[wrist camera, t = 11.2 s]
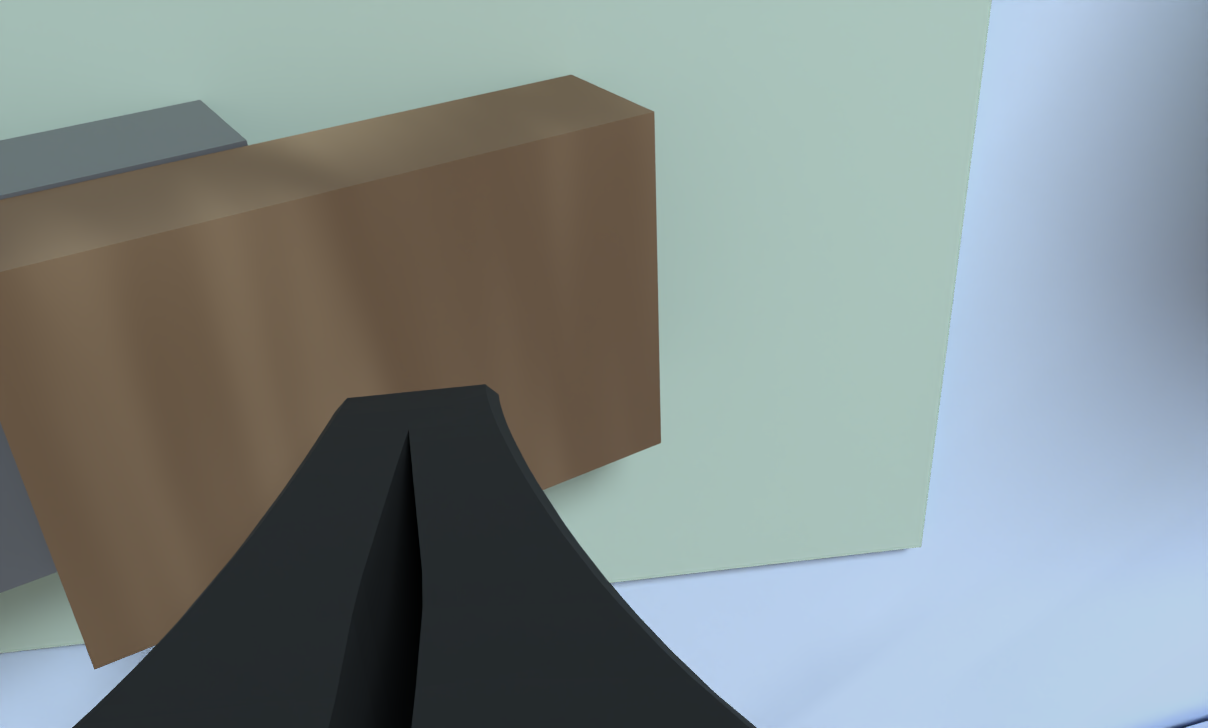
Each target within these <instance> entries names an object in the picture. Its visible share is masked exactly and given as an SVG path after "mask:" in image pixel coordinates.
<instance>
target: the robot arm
mask: <svg viewBox="0 0 1208 728" xmlns="http://www.w3.org/2000/svg"><path fill="white" fill-rule="evenodd" d="M72 728H756V727H755V726H754V725H753V724H752V723H750V722H749V721H748V720H747V719H746V718H744V717H743V716H742V715H741V714H740V713H738V712H737V711H736V710H735V709H734V708H732V707H731V706H730V705H729V704H728V703H726V702H725V701H724V700H723V699H722V698H720V697H719V696H718V695H717V694H716V693H715V692H714V691H713V690H712V689H710V688H709V687H708V686H707V685H706V684H705V683H704V682H703V681H702V680H701V679H700V678H699V677H698V676H697V675H696V674H695V673H694V672H693V671H692V670H691V669H690V668H689V667H688V666H687V665H686V664H685V663H683V662H682V661H681V660H680V659H679V658H678V657H677V656H676V655H675V654H674V653H673V652H672V651H671V650H670V649H669V648H668V647H667V646H666V645H665V644H664V643H663V642H662V640H661V639H660V638H659V637H658V636H657V635H656V634H655V633H654V632H653V631H652V630H651V629H650V628H649V627H648V626H647V625H646V624H645V623H644V622H643V620H642V619H641V618H640V617H639V616H638V615H637V614H636V613H635V612H634V611H633V609H632V608H631V607H630V606H629V605H628V604H627V603H626V601H625V600H624V599H623V598H622V597H621V596H620V595H619V593H618V592H617V591H616V590H615V589H614V587H613V586H612V585H611V584H610V583H609V581H608V580H607V579H606V578H605V576H604V575H603V574H602V573H601V571H600V570H599V569H598V568H597V566H596V565H595V564H594V562H593V561H592V560H591V559H590V557H589V556H588V555H587V553H586V552H585V551H584V550H583V548H582V547H581V546H580V544H579V543H578V542H577V540H576V539H575V537H574V536H573V535H572V533H571V532H570V530H569V529H568V528H567V526H566V525H565V524H564V522H563V521H562V519H561V518H560V516H559V514H558V513H557V511H556V510H555V508H554V507H553V505H552V504H551V502H550V501H549V499H548V498H547V496H546V494H545V493H544V491H543V490H542V488H541V487H540V485H539V484H538V482H537V481H536V479H535V477H534V475H533V474H532V472H531V470H530V469H529V467H528V465H527V463H526V462H525V460H524V458H523V456H522V454H521V452H520V450H519V448H518V446H517V444H516V442H515V440H514V438H513V436H512V434H511V432H510V429H509V427H508V425H507V422H506V420H505V417H504V414H503V411H502V408H501V405H500V400H499V394H498V393H496V392H495V391H494V390H492V389H491V388H490V387H488V386H487V385H486V384H482V385H472V386H462V387H452V388H442V389H432V390H422V391H412V392H402V393H392V394H382V395H372V396H362V397H352V398H347V399H346V400H345V401H344V402H343V403H342V404H341V405H340V407H339V408H338V409H337V410H336V411H335V413H334V414H333V416H332V417H331V419H330V421H329V422H328V424H327V425H326V427H325V428H324V430H323V431H322V433H321V434H320V436H319V437H318V439H317V441H316V442H315V444H314V445H313V447H312V448H311V450H310V451H309V453H308V454H307V456H306V457H305V459H304V460H303V462H302V463H301V464H300V466H299V467H298V469H297V470H296V472H295V473H294V475H293V476H292V477H291V479H290V480H289V482H288V483H287V485H286V486H285V488H284V489H283V490H282V492H281V493H280V494H279V496H278V497H277V498H276V500H275V501H274V502H273V504H272V505H271V507H270V508H269V509H268V511H267V512H266V513H265V515H264V516H263V517H262V519H261V520H260V521H259V523H258V524H257V525H256V527H255V528H254V529H253V531H252V532H251V533H250V535H249V536H248V537H247V539H246V540H245V541H244V543H243V544H242V545H241V547H240V548H239V549H238V550H237V552H236V553H235V554H234V555H233V557H232V558H231V559H230V560H229V562H228V563H227V564H226V565H225V566H224V567H223V569H222V570H221V571H220V572H219V573H218V575H217V576H216V577H215V578H214V579H213V581H212V582H211V583H210V584H209V585H208V586H207V588H206V589H205V590H204V591H203V592H202V594H201V595H200V596H199V597H198V598H197V600H196V601H195V602H194V603H193V604H192V605H191V607H190V608H189V609H188V610H187V611H186V613H185V614H184V615H183V616H182V617H181V619H180V620H179V621H178V622H177V623H176V624H175V625H174V626H173V627H172V629H171V630H170V631H169V632H168V633H167V634H166V635H165V636H164V637H163V638H162V639H161V640H160V642H159V643H158V644H157V645H156V646H155V647H154V648H153V649H152V650H151V651H150V652H149V653H148V654H147V656H146V657H145V658H144V659H143V660H142V661H141V662H140V663H139V664H138V665H137V666H136V667H135V668H134V669H133V670H132V671H131V672H130V673H129V674H128V675H127V676H126V677H125V678H124V679H123V680H122V681H121V682H120V683H119V684H118V685H117V686H116V687H115V688H114V689H113V690H112V691H111V692H110V693H109V694H108V695H107V696H106V697H105V698H104V699H103V700H102V701H100V702H99V703H98V704H97V705H96V706H95V707H94V708H93V709H92V710H91V711H90V712H89V713H88V714H87V715H86V716H85V717H83V718H82V719H81V720H80V721H79V722H78V723H77V724H76V725H75V726H74V727H72ZM1185 728H1208V721H1204V722H1201V723H1198V724H1195V725H1191V726H1188V727H1185Z"/></svg>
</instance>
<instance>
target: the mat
mask: <svg viewBox="0 0 1208 728" xmlns="http://www.w3.org/2000/svg"><path fill="white" fill-rule="evenodd" d="M991 2H992V0H0V140H5V139H10V138H15V137H20V136H25V135H29V134H34V133H39V132H44V131H49V130H54V129H59V128H64V127H69V126H74V125H78V124H83V123H88V122H93V121H98V120H103V119H108V118H113V117H118V116H123V115H128V114H132V113H137V112H142V111H147V110H152V109H157V108H162V107H167V106H172V105H177V104H181V103H186V102H191V101H196V100H201V101H202V102H203V103H204V104H206V105H207V106H208V107H209V108H210V109H211V110H212V111H214V112H215V113H216V114H217V115H218V116H219V117H221V118H222V119H223V120H224V121H225V122H226V123H227V124H229V125H230V126H231V127H232V128H233V129H234V130H235V131H237V132H238V133H239V134H240V135H241V136H242V137H243V138H245V139H246V140H247V144H248V145H252V144H257V143H261V142H266V141H271V140H275V139H280V138H284V137H289V136H293V135H298V134H303V133H307V132H312V131H316V130H321V129H325V128H330V127H334V126H339V125H344V124H348V123H353V122H357V121H362V120H366V119H371V118H375V117H380V116H385V115H389V114H394V113H398V112H403V111H407V110H412V109H417V108H421V107H426V106H430V105H435V104H439V103H444V102H448V101H453V100H458V99H462V98H467V97H471V96H476V95H480V94H485V93H489V92H494V91H499V90H503V89H508V88H512V87H517V86H521V85H526V84H531V83H535V82H540V81H544V80H549V79H553V78H558V77H562V76H567V75H574V76H576V77H578V78H580V79H582V80H585V81H587V82H589V83H591V84H594V85H596V86H598V87H600V88H603V89H605V90H607V91H609V92H612V93H614V94H616V95H618V96H620V97H623V98H625V99H627V100H629V101H632V102H634V103H636V104H638V105H641V106H643V107H645V108H647V109H650V110H652V111H654V115H655V164H656V214H657V263H658V313H659V362H660V412H661V443H660V444H657V445H655V446H652V447H650V448H647V449H645V450H642V451H640V452H637V453H635V454H632V455H630V456H627V457H625V458H622V459H620V460H617V461H615V462H612V463H610V464H607V465H605V466H602V467H600V468H597V469H595V470H592V471H590V472H587V473H585V474H582V475H580V476H577V477H575V478H572V479H570V480H567V481H565V482H562V483H560V484H557V485H555V486H552V487H550V488H547V489H545V490H543V491H544V493H545V494H546V496H547V498H548V499H549V501H550V502H551V504H552V505H553V507H554V508H555V510H556V511H557V513H558V514H559V516H560V518H561V519H562V521H563V522H564V524H565V525H566V526H567V528H568V529H569V530H570V532H571V533H572V535H573V536H574V537H575V539H576V540H577V542H578V543H579V544H580V546H581V547H582V548H583V550H584V551H585V552H586V553H587V555H588V556H589V557H590V559H591V560H592V561H593V562H594V564H595V565H596V566H597V568H598V569H599V570H600V571H601V573H602V574H603V575H604V576H605V578H606V579H607V580H608V581H609V583H613V582H622V581H631V580H639V579H648V578H657V577H665V576H674V575H682V574H691V573H700V572H708V571H717V570H726V569H734V568H743V567H752V566H760V565H769V564H778V563H786V562H795V561H804V560H812V559H821V558H830V557H838V556H847V555H856V554H864V553H873V552H882V551H890V550H899V549H908V548H916V547H921V545H922V537H923V529H924V521H925V514H926V506H927V498H928V490H929V482H930V475H931V467H932V459H933V451H934V444H935V436H936V428H937V420H938V413H939V405H940V397H941V389H942V382H943V374H944V366H945V358H946V351H947V343H948V335H949V327H950V320H951V312H952V304H953V296H954V289H955V281H956V273H957V265H958V258H959V250H960V242H961V234H962V227H963V219H964V211H965V203H966V196H967V188H968V180H969V172H970V165H971V157H972V149H973V141H974V133H975V126H976V118H977V110H978V102H979V95H980V87H981V79H982V71H983V64H984V56H985V48H986V40H987V33H988V25H989V17H990V9H991ZM77 644H85V643H84V640H83V638H82V635H81V632H80V630H79V627H78V625H77V622H76V619H75V617H74V614H73V611H72V609H71V606H70V604H69V601H68V598H67V596H66V593H65V590H64V588H63V585H62V583H61V580H60V577H59V575H58V572H56V573H53V574H51V575H48V576H45V577H42V578H40V579H37V580H34V581H32V582H29V583H26V584H23V585H21V586H18V587H15V588H13V589H10V590H7V591H4V592H2V593H0V653H7V652H16V651H25V650H33V649H42V648H51V647H59V646H68V645H77Z"/></svg>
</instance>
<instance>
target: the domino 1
mask: <svg viewBox="0 0 1208 728" xmlns="http://www.w3.org/2000/svg"><path fill="white" fill-rule="evenodd" d="M243 146H248V144H247V140H246V139H245V138H243V137H242V136H241V135H240V134H239V133H238V132H237V131H235V130H234V129H233V128H232V127H231V126H230V125H229V124H227V123H226V122H225V121H224V120H223V119H222V118H221V117H219V116H218V115H217V114H216V113H215V112H214V111H212V110H211V109H210V108H209V107H208V106H207V105H206V104H204V103H203V102H202V101H201V100H196V101H191V102H186V103H181V104H177V105H172V106H167V107H162V108H157V109H152V110H147V111H142V112H137V113H132V114H128V115H123V116H118V117H113V118H108V119H103V120H98V121H93V122H88V123H83V124H78V125H74V126H69V127H64V128H59V129H54V130H49V131H44V132H39V133H34V134H29V135H25V136H20V137H15V138H10V139H5V140H0V200H2V199H6V198H11V197H15V196H20V195H24V194H29V193H33V192H38V191H43V190H47V189H52V188H56V187H61V186H65V185H70V184H75V183H79V182H84V181H88V180H93V179H97V178H102V177H106V176H111V175H116V174H120V173H125V172H129V171H134V170H138V169H143V168H147V167H152V166H157V165H161V164H166V163H170V162H175V161H179V160H184V159H189V158H193V157H198V156H202V155H207V154H211V153H216V152H220V151H225V150H230V149H234V148H239V147H243ZM56 572H57V569H56V567H55V564H54V562H53V559H52V556H51V554H50V551H49V548H48V546H47V543H46V541H45V538H44V535H43V533H42V530H41V528H40V525H39V522H38V520H37V517H36V514H35V512H34V509H33V507H32V504H31V501H30V499H29V496H28V493H27V491H26V488H25V486H24V483H23V480H22V478H21V475H20V472H19V470H18V467H17V465H16V462H15V459H14V457H13V454H12V451H11V449H10V446H9V444H8V441H7V438H6V436H5V433H4V430H3V428H2V425H1V423H0V593H2V592H4V591H7V590H10V589H13V588H15V587H18V586H21V585H23V584H26V583H29V582H32V581H34V580H37V579H40V578H42V577H45V576H48V575H51V574H53V573H56Z"/></svg>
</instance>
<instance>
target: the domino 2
mask: <svg viewBox="0 0 1208 728" xmlns="http://www.w3.org/2000/svg"><path fill="white" fill-rule="evenodd" d="M482 384H486V385H487V386H488V387H490V388H491V389H492V390H494V391H495V392H496V393H498V394H499V400H500V405H501V408H502V411H503V414H504V417H505V420H506V422H507V425H508V427H509V429H510V432H511V434H512V436H513V438H514V440H515V442H516V444H517V446H518V448H519V450H520V452H521V454H522V456H523V458H524V460H525V462H526V463H527V465H528V467H529V469H530V470H531V472H532V474H533V475H534V477H535V479H536V481H537V482H538V484H539V485H540V487H541V488H542V490H545V489H547V488H550V487H552V486H555V485H557V484H560V483H562V482H565V481H567V480H570V479H572V478H575V477H577V476H580V475H582V474H585V473H587V472H590V471H592V470H595V469H597V468H600V467H602V466H605V465H607V464H610V463H612V462H615V461H617V460H620V459H622V458H625V457H627V456H630V455H632V454H635V453H637V452H640V451H642V450H645V449H647V448H650V447H652V446H655V445H657V444H660V443H661V412H660V362H659V313H658V263H657V214H656V164H655V115H654V111H652V110H650V109H647V108H645V107H643V106H641V105H638V104H636V103H634V102H632V101H629V100H627V99H625V98H623V97H620V96H618V95H616V94H614V93H612V92H609V91H607V90H605V89H603V88H600V87H598V86H596V85H594V84H591V83H589V82H587V81H585V80H582V79H580V78H578V77H576V76H574V75H567V76H562V77H558V78H553V79H549V80H544V81H540V82H535V83H531V84H526V85H521V86H517V87H512V88H508V89H503V90H499V91H494V92H489V93H485V94H480V95H476V96H471V97H467V98H462V99H458V100H453V101H448V102H444V103H439V104H435V105H430V106H426V107H421V108H417V109H412V110H407V111H403V112H398V113H394V114H389V115H385V116H380V117H375V118H371V119H366V120H362V121H357V122H353V123H348V124H344V125H339V126H334V127H330V128H325V129H321V130H316V131H312V132H307V133H303V134H298V135H293V136H289V137H284V138H280V139H275V140H271V141H266V142H261V143H257V144H252V145H248V146H243V147H239V148H234V149H230V150H225V151H220V152H216V153H211V154H207V155H202V156H198V157H193V158H189V159H184V160H179V161H175V162H170V163H166V164H161V165H157V166H152V167H147V168H143V169H138V170H134V171H129V172H125V173H120V174H116V175H111V176H106V177H102V178H97V179H93V180H88V181H84V182H79V183H75V184H70V185H65V186H61V187H56V188H52V189H47V190H43V191H38V192H33V193H29V194H24V195H20V196H15V197H11V198H6V199H2V200H0V423H1V425H2V428H3V430H4V433H5V436H6V438H7V441H8V444H9V446H10V449H11V451H12V454H13V457H14V459H15V462H16V465H17V467H18V470H19V472H20V475H21V478H22V480H23V483H24V486H25V488H26V491H27V493H28V496H29V499H30V501H31V504H32V507H33V509H34V512H35V514H36V517H37V520H38V522H39V525H40V528H41V530H42V533H43V535H44V538H45V541H46V543H47V546H48V548H49V551H50V554H51V556H52V559H53V562H54V564H55V567H56V569H57V572H58V575H59V577H60V580H61V583H62V585H63V588H64V590H65V593H66V596H67V598H68V601H69V604H70V606H71V609H72V611H73V614H74V617H75V619H76V622H77V625H78V627H79V630H80V632H81V635H82V638H83V640H84V643H85V646H86V648H87V651H88V653H89V656H90V659H91V661H92V664H93V667H94V669H97V668H100V667H102V666H105V665H107V664H110V663H112V662H115V661H117V660H120V659H122V658H125V657H127V656H130V655H132V654H135V653H137V652H140V651H142V650H145V649H147V648H150V647H152V646H155V645H157V644H158V643H159V642H160V640H161V639H162V638H163V637H164V636H165V635H166V634H167V633H168V632H169V631H170V630H171V629H172V627H173V626H174V625H175V624H176V623H177V622H178V621H179V620H180V619H181V617H182V616H183V615H184V614H185V613H186V611H187V610H188V609H189V608H190V607H191V605H192V604H193V603H194V602H195V601H196V600H197V598H198V597H199V596H200V595H201V594H202V592H203V591H204V590H205V589H206V588H207V586H208V585H209V584H210V583H211V582H212V581H213V579H214V578H215V577H216V576H217V575H218V573H219V572H220V571H221V570H222V569H223V567H224V566H225V565H226V564H227V563H228V562H229V560H230V559H231V558H232V557H233V555H234V554H235V553H236V552H237V550H238V549H239V548H240V547H241V545H242V544H243V543H244V541H245V540H246V539H247V537H248V536H249V535H250V533H251V532H252V531H253V529H254V528H255V527H256V525H257V524H258V523H259V521H260V520H261V519H262V517H263V516H264V515H265V513H266V512H267V511H268V509H269V508H270V507H271V505H272V504H273V502H274V501H275V500H276V498H277V497H278V496H279V494H280V493H281V492H282V490H283V489H284V488H285V486H286V485H287V483H288V482H289V480H290V479H291V477H292V476H293V475H294V473H295V472H296V470H297V469H298V467H299V466H300V464H301V463H302V462H303V460H304V459H305V457H306V456H307V454H308V453H309V451H310V450H311V448H312V447H313V445H314V444H315V442H316V441H317V439H318V437H319V436H320V434H321V433H322V431H323V430H324V428H325V427H326V425H327V424H328V422H329V421H330V419H331V417H332V416H333V414H334V413H335V411H336V410H337V409H338V408H339V407H340V405H341V404H342V403H343V402H344V401H345V400H346V399H347V398H352V397H362V396H372V395H382V394H392V393H402V392H412V391H422V390H432V389H442V388H452V387H462V386H472V385H482Z"/></svg>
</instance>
